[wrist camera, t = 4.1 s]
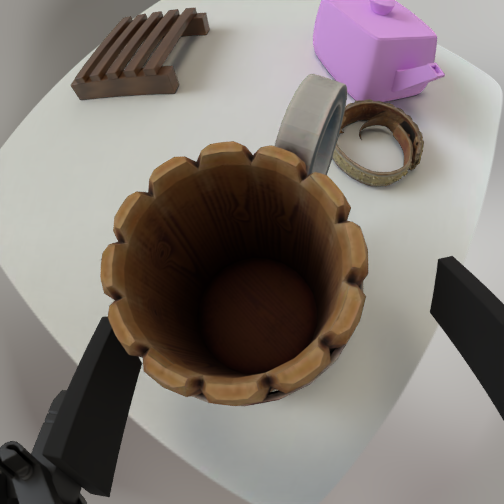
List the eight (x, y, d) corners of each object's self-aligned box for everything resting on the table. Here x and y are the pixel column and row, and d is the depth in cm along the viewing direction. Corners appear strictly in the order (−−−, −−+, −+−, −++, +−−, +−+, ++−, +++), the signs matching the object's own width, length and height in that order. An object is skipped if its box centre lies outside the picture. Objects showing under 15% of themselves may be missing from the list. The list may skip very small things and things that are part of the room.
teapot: (447, 119, 28) (483, 53, 18) (375, 138, 27) (403, 56, 18) (362, 29, 33) (372, -31, 24) (294, 39, 33) (294, -28, 23)
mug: (291, 412, 21) (312, 502, 6) (165, 348, 23) (24, 325, 9) (373, 227, 24) (451, 95, 10) (256, 179, 27) (233, 26, 12)
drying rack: (80, 100, 33) (66, 80, 29) (124, 37, 37) (116, 19, 33) (174, 93, 31) (165, 68, 27) (209, 29, 35) (204, 6, 31)
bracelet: (424, 143, 27) (435, 125, 24) (399, 208, 25) (411, 191, 22) (348, 104, 29) (352, 83, 26) (310, 161, 27) (313, 140, 24)
